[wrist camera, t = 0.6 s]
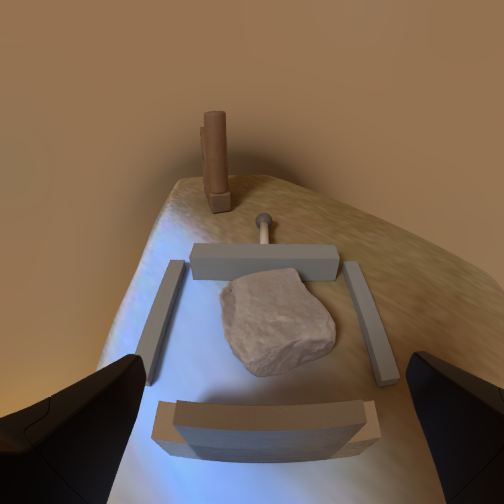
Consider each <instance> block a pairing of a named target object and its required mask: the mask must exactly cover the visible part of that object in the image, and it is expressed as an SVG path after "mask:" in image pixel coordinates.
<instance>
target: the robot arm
mask: <svg viewBox="0 0 504 504" xmlns="http://www.w3.org/2000/svg"><path fill="white" fill-rule="evenodd" d="M146 379H147V375H146V371H145V367H144V363H143V359H142V357H141V356H140V355H136V354H128V355H126V356H124V357H122V358H121V359H119V360H117V361H115V362H113V363H111V364H110V365H108V366H106V367H104V368H102V369H101V370H99V371H97V372H95V373H93V374H91V375H89V376H88V377H86V378H84V379H82V380H80V381H78V382H76V383H75V384H73V385H71V386H69V387H67V388H65V389H63V390H61V391H59V392H58V393H56V394H54V395H52V396H51V397H48V398H46V399H44V400H42V401H40V402H38V403H36V404H34V405H32V406H30V407H27V408H25V409H22V410H20V411H17V412H15V413H12V414H9V415H7V416H5V417H2V418H0V504H107V501H108V498H109V495H110V491H111V488H112V485H113V482H114V480H115V477H116V474H117V471H118V468H119V465H120V462H121V459H122V457H123V454H124V451H125V448H126V446H127V443H128V440H129V437H130V435H131V432H132V429H133V427H134V424H135V421H136V418H137V415H138V412H139V407H140V403H141V399H142V395H143V392H144V388H145V384H146ZM406 380H407V383H408V386H409V390H410V393H411V397H412V400H413V404H414V407H415V411H416V413H417V416H418V419H419V421H420V424H421V427H422V429H423V432H424V435H425V437H426V440H427V443H428V446H429V449H430V452H431V454H432V457H433V460H434V463H435V466H436V470H437V473H438V476H439V479H440V482H441V486H442V489H443V493H444V496H445V500H446V503H447V504H504V389H502V388H500V387H497V386H495V385H493V384H491V383H489V382H487V381H485V380H483V379H481V378H479V377H476V376H474V375H472V374H470V373H468V372H466V371H464V370H462V369H460V368H458V367H456V366H454V365H451V364H449V363H447V362H445V361H443V360H441V359H439V358H437V357H435V356H433V355H431V354H429V353H427V352H425V351H419V352H414V353H413V354H412V356H411V358H410V361H409V364H408V367H407V370H406Z"/></svg>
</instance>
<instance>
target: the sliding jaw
mask: <svg viewBox="0 0 504 504" xmlns="http://www.w3.org/2000/svg"><path fill="white" fill-rule="evenodd" d="M380 438H381V432H380V427H379V422H378V417H377V412H376V407H375V403H374V400H373V401H367V402H363V399H359V400H351V401H342V402H333V403H321V404H306V405H278V406H254V405H226V404H210V403H198V402H188V401H180V400H177V402H176V403H171V402H164V401H159V403H158V407H157V412H156V416H155V421H154V426H153V431H152V436H151V439H152V440H153V441H155V442H156V443H157V444H158V445H159V446H160V447H161V448H162V449H164V450H165V451H166V452H167V453H168V454H169V455H171V456H178V457H184V458H192V459H200V460H209V461H221V462H237V463H289V462H305V461H317V460H326V459H334V458H341V457H348V456H354V455H359V454H360V453H362V452H363V451H364V450H366V449H367V448H368V447H369V446H371V445H372V444H373V443H375V442H376V441H377V440H378V439H380Z"/></svg>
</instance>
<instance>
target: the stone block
mask: <svg viewBox="0 0 504 504" xmlns="http://www.w3.org/2000/svg"><path fill="white" fill-rule="evenodd" d="M220 303H221V306H222V323H223V328H224V334H225V338H226V340H227V342H228V343H229V345H230V348H231V350H232V352H233V354H234V355H235V356H236V357H237V358H238V359H239V360H240V361H241V362H242V363H243V365H244V367H245V368H246V369H247V370H248V371H249V372H250V373H251V374H254V375H255V376H257V377H266V376H272V375H279V374H284V373H286V372H288V371H289V370H291V369H293V368H296V367H297V366H299V365H300V364H302V363H305V362H310V361H313V360H315V359H317V358H319V357H321V356H323V355H325V354H327V353H329V352H330V351H331V350H332V348H333V346H334V344H335V341H336V336H335V335H336V327H335V323H334V321H333V319H332V318H331V316H330V313H329V312H328V311H327V309H326V308H325V307H324V306H323V305H322V303H321V302H320V301H319V300H318V299H317V298H316V297H315V296H313V295H312V294H311V293H310V292H309V291H308V290H307V289H306V287H305V285H304V284H303V283H302V282H301V279H300V277H299V274H298V272H297V271H296V270H295V269H293V268H286V269H274V270H269V271H262V272H258V273H253V274H249V275H245V276H243V277H240V278H238V279H236V280H234V281H231V282H229V283H228V286H227V287H225V288H223V289H222V292H221V294H220Z"/></svg>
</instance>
